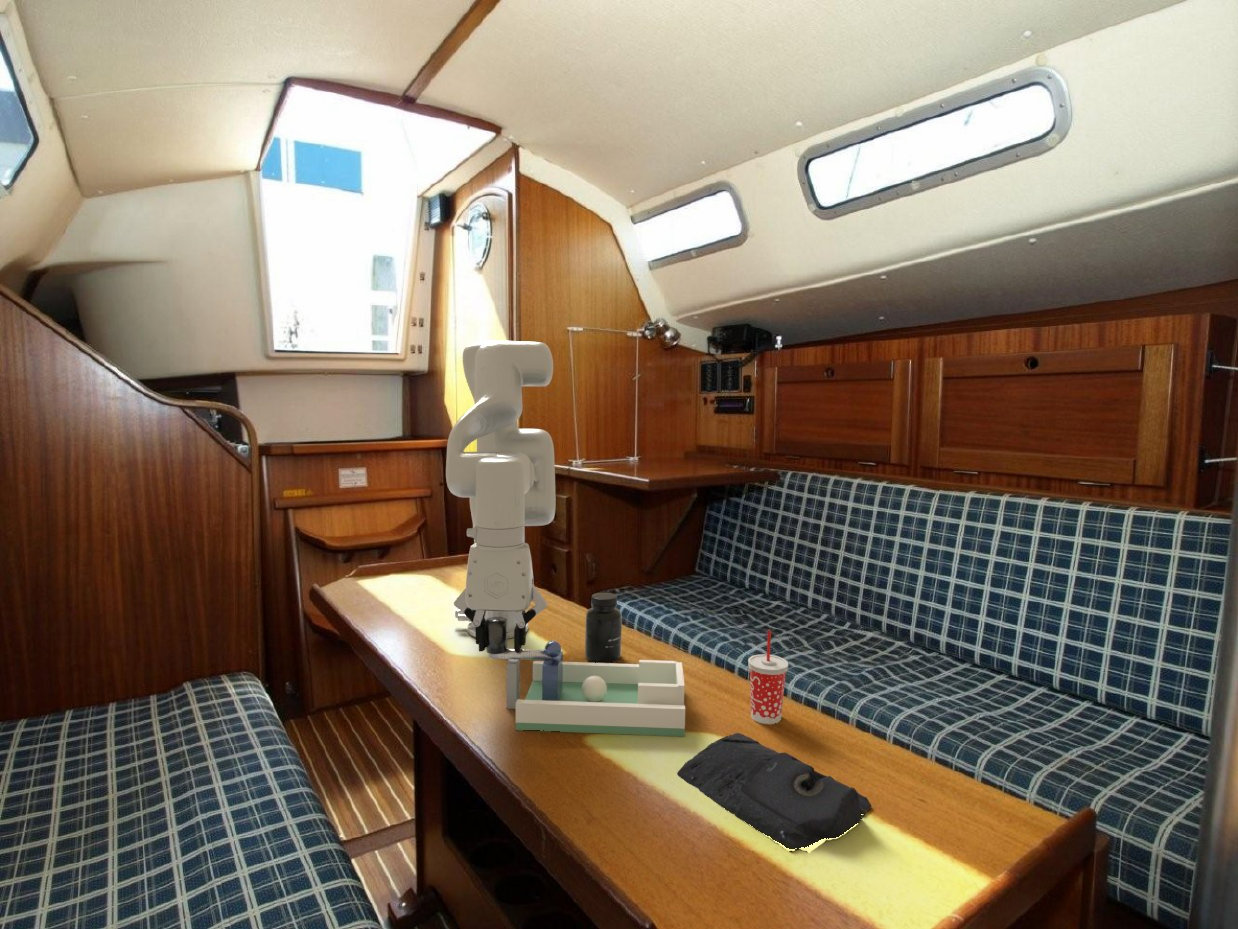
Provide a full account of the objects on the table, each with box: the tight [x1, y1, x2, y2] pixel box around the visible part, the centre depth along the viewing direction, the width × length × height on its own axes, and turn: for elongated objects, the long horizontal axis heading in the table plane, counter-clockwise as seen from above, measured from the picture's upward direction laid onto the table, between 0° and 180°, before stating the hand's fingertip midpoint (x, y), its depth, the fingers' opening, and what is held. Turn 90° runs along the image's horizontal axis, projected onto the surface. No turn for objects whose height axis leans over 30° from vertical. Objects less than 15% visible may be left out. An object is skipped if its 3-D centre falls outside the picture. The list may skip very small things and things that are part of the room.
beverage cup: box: [747, 629, 789, 725], centre depth 106 cm, size 6×6×14 cm
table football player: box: [485, 617, 564, 701], centre depth 108 cm, size 12×6×12 cm, turn 87°
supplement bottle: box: [584, 592, 623, 663], centre depth 129 cm, size 7×7×12 cm
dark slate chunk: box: [677, 732, 873, 849], centre depth 87 cm, size 15×22×5 cm
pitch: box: [505, 659, 686, 737], centre depth 108 cm, size 28×16×7 cm, turn 87°
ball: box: [582, 676, 607, 702], centre depth 108 cm, size 4×4×4 cm
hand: (500, 647), depth 108 cm, fingers closed on table football player, 5 cm apart
